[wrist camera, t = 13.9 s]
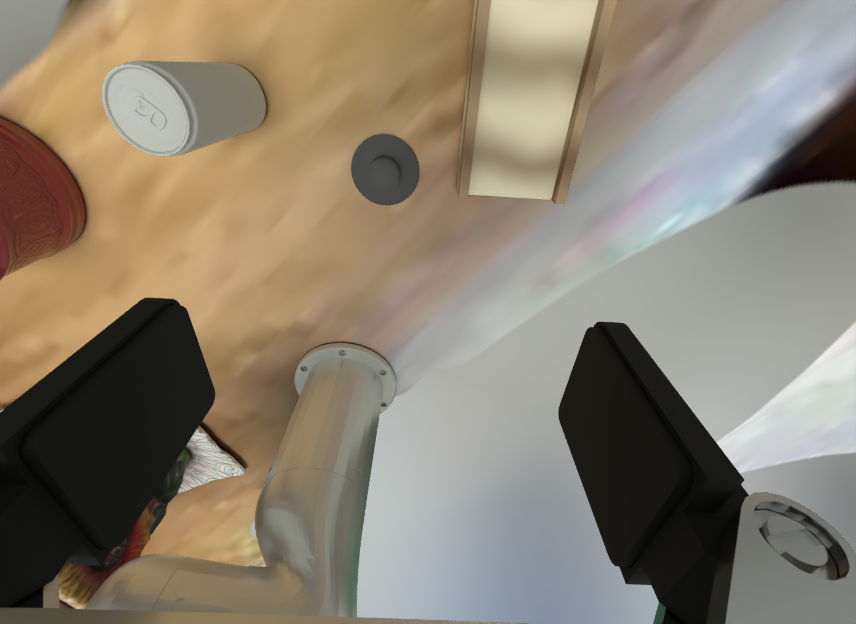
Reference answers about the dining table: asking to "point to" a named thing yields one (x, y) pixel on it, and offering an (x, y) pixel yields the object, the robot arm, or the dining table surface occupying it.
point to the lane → (529, 94)
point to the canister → (34, 201)
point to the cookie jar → (149, 517)
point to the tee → (385, 169)
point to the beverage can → (181, 104)
